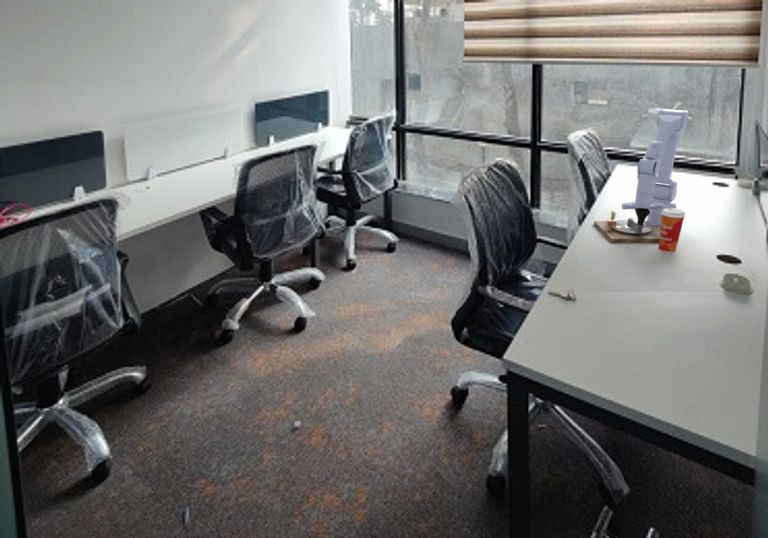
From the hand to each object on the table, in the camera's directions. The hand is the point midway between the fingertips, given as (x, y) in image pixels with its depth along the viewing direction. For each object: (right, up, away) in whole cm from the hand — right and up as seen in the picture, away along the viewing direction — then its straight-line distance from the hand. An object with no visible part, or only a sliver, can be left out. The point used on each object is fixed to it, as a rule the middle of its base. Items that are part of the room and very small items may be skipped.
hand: (639, 227), depth 227 cm
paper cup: (+5, -8, -10) cm, 14 cm away
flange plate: (-2, 0, +4) cm, 5 cm away
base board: (-1, -2, +6) cm, 6 cm away
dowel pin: (-6, +2, +11) cm, 13 cm away
